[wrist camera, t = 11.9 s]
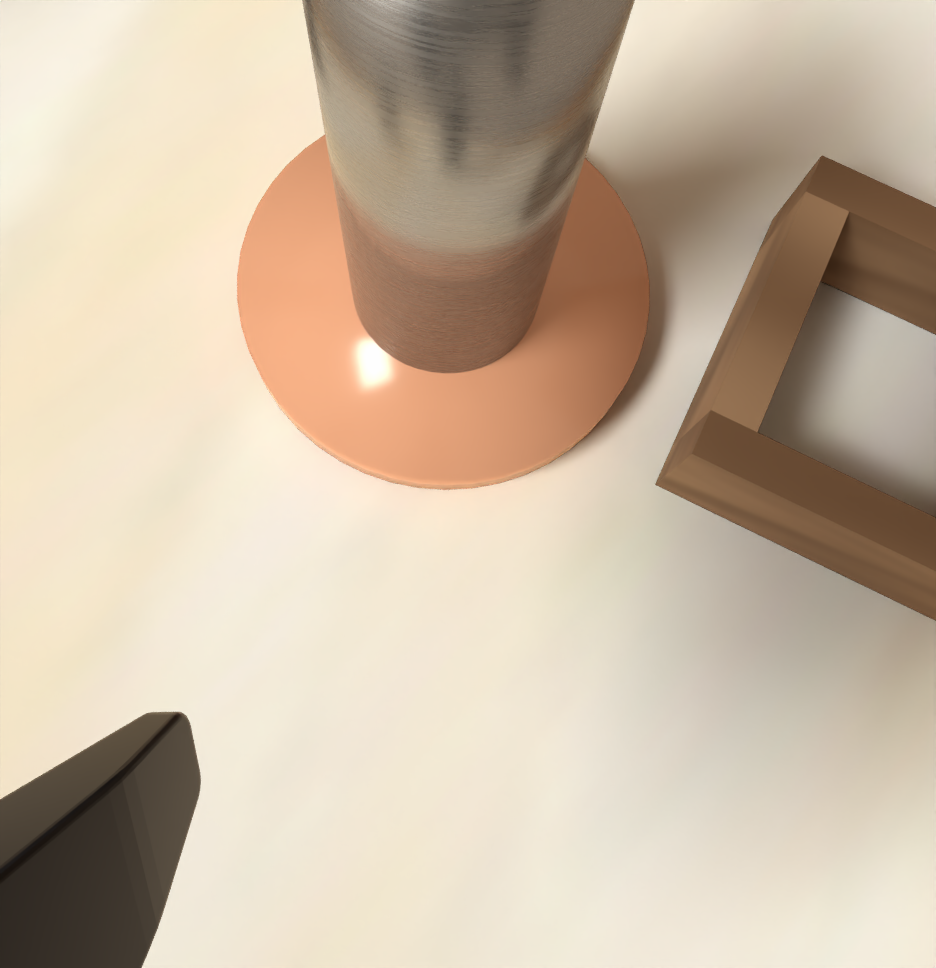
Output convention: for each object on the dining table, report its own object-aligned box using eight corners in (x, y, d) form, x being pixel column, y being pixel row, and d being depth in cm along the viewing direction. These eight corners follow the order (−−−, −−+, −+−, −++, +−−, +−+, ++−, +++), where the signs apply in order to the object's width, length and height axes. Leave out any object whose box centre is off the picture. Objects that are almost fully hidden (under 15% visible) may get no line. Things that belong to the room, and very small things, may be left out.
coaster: (328, 552, 21) (324, 546, 20) (190, 195, 23) (180, 174, 22) (706, 402, 23) (719, 389, 22) (543, 81, 25) (549, 57, 24)
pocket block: (967, 636, 21) (1053, 627, 19) (655, 484, 22) (691, 453, 19) (1058, 351, 24) (1148, 305, 21) (772, 219, 24) (821, 155, 21)
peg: (442, 410, 21) (477, 1, 8) (312, 278, 22) (165, -286, 9) (577, 291, 22) (790, -234, 9) (450, 168, 23) (489, -476, 10)
